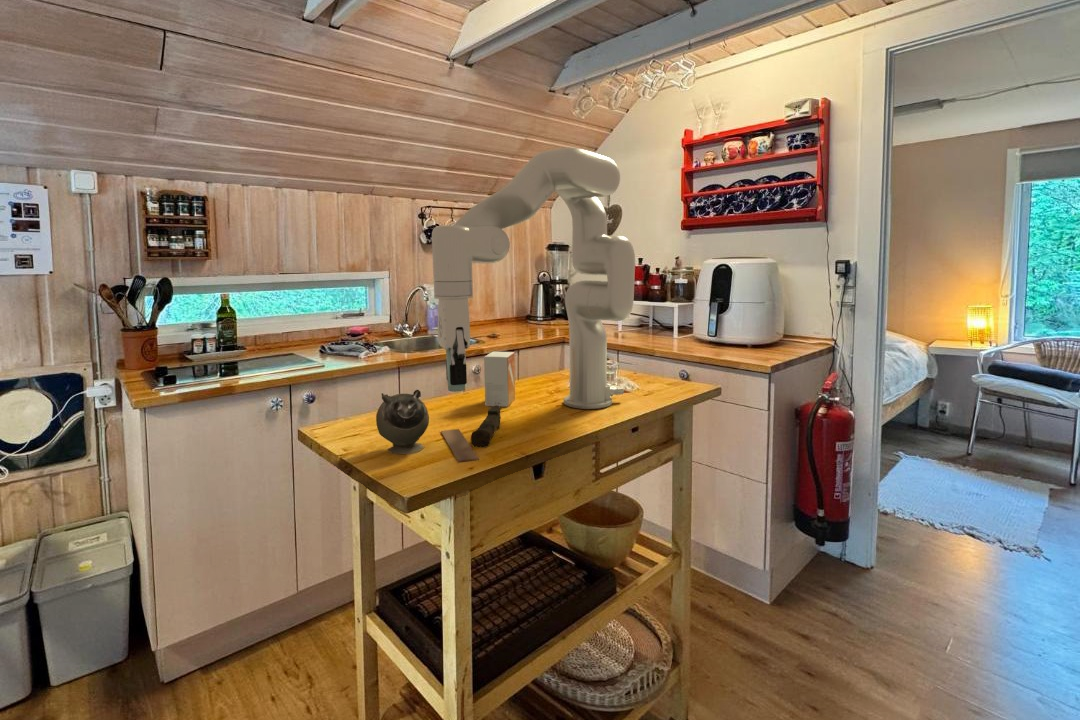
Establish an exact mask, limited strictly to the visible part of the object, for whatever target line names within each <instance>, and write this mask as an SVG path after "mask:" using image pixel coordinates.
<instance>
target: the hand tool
mask: <svg viewBox="0 0 1080 720" xmlns="http://www.w3.org/2000/svg"><path fill="white" fill-rule="evenodd" d="M501 418H502V417H501V408H500V406H498V405H496V406H491V407H490V408H488V410H487V415H486V417H485V419H484V420H482V422H481V424H479V426H478V427H477V429H476V430H474V431H472V432H471V434H470V441H471V442H470V445H472V447H473V448H487V447H489V446H490V442H491V439H492V437H493V435H495V432H496V430H498V429H500V426H501Z"/></svg>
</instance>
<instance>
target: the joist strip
mask: <svg viewBox="0 0 1080 720" xmlns="http://www.w3.org/2000/svg"><path fill="white" fill-rule="evenodd" d="M440 433H441V434H442V437H443V438H444V440H445V442H446V443H447V445H448V447H449V448H450V450H451V453H453V455H454V457H455V459H456V461H457V462H458V463H462V462H470V461H471V462H472V461H479V460H480V458H479V456H478V455H477V453H476V451H475V450H474V449H473V446H471V443H469V441H468V440H467V438H466V437H465V436H464V434H463V433H462V431H461V430H460V429H459V428H456V429H455V428H454V429H447V430H441V431H440Z"/></svg>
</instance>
